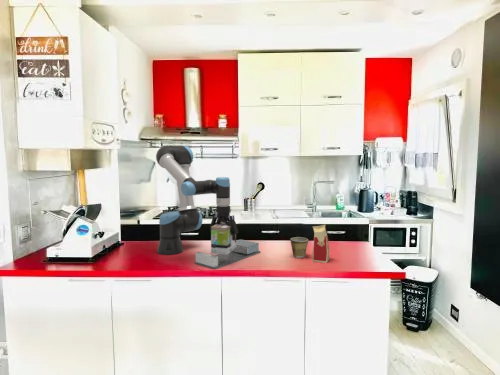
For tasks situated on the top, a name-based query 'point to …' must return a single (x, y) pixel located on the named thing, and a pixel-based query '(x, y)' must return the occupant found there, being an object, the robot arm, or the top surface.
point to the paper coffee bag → (320, 245)
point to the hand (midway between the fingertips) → (223, 244)
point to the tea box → (221, 239)
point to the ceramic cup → (299, 246)
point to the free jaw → (246, 246)
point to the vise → (220, 259)
